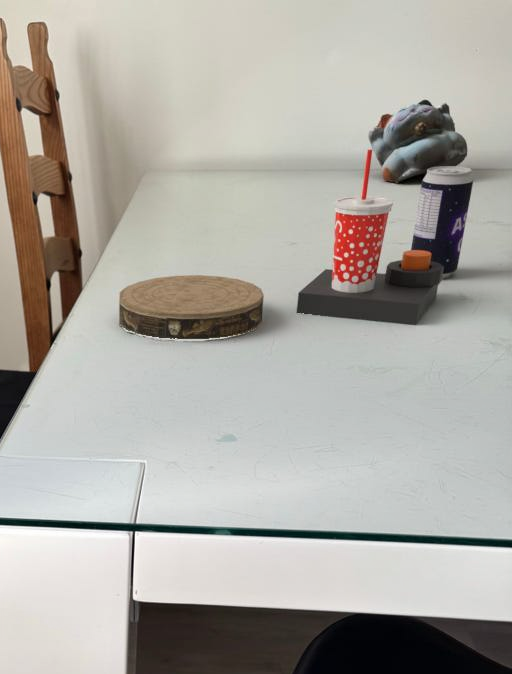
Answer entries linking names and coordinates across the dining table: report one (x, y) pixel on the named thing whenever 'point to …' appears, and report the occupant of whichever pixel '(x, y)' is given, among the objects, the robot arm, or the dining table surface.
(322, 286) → the scale
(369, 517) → the dining table surface
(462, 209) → the beverage can
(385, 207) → the beverage cup
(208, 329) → the wood slice
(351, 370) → the dining table surface
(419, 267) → the button
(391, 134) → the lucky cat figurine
